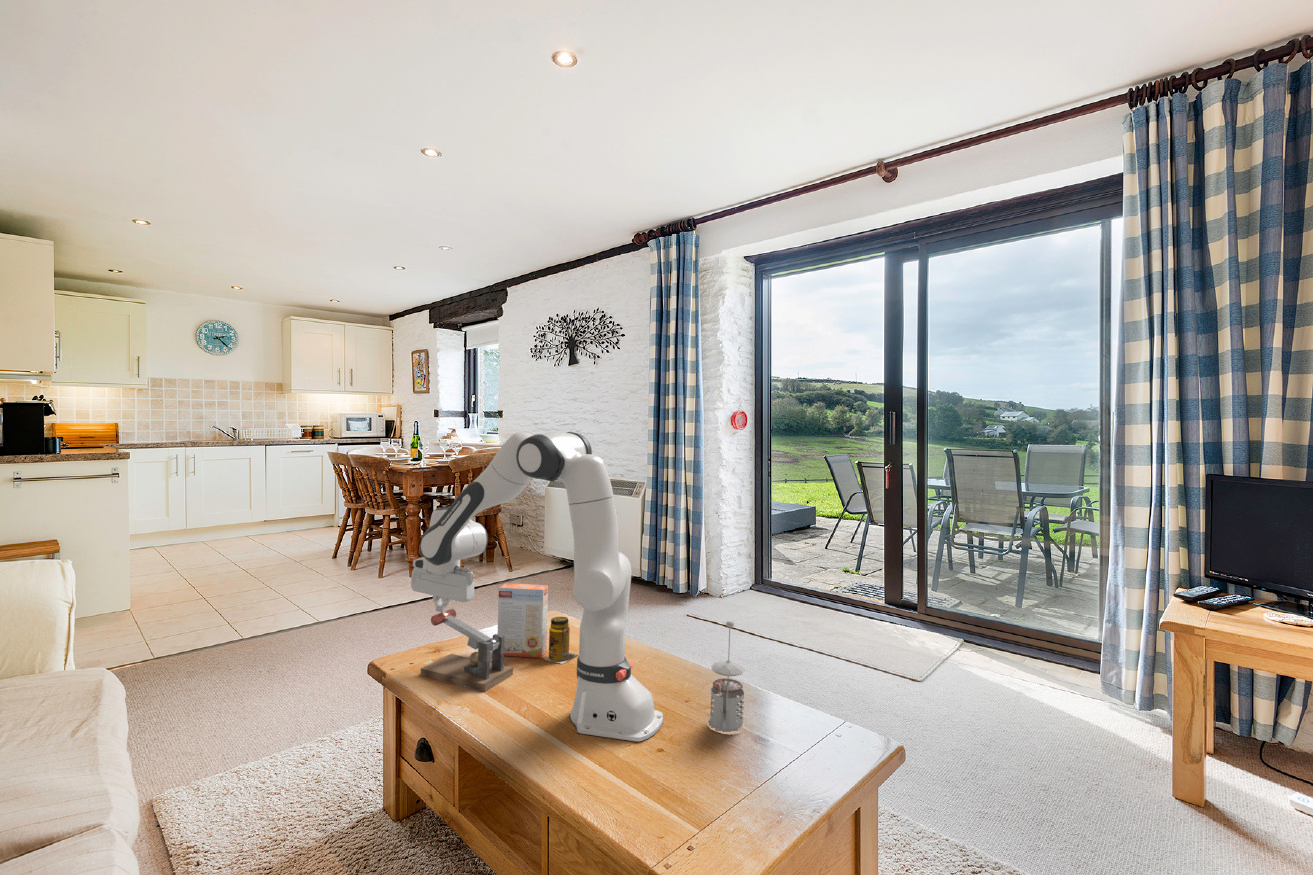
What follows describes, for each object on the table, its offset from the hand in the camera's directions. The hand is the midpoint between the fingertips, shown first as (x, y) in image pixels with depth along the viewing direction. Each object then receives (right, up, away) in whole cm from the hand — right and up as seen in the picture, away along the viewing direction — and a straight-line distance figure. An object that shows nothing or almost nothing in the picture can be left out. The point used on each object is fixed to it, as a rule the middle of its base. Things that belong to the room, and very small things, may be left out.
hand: (441, 611), depth 169 cm
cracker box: (+20, -17, +13) cm, 29 cm away
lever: (+8, -7, -3) cm, 11 cm away
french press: (+78, -20, -27) cm, 85 cm away
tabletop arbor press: (+8, -17, -4) cm, 19 cm away
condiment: (+32, -18, +11) cm, 38 cm away
